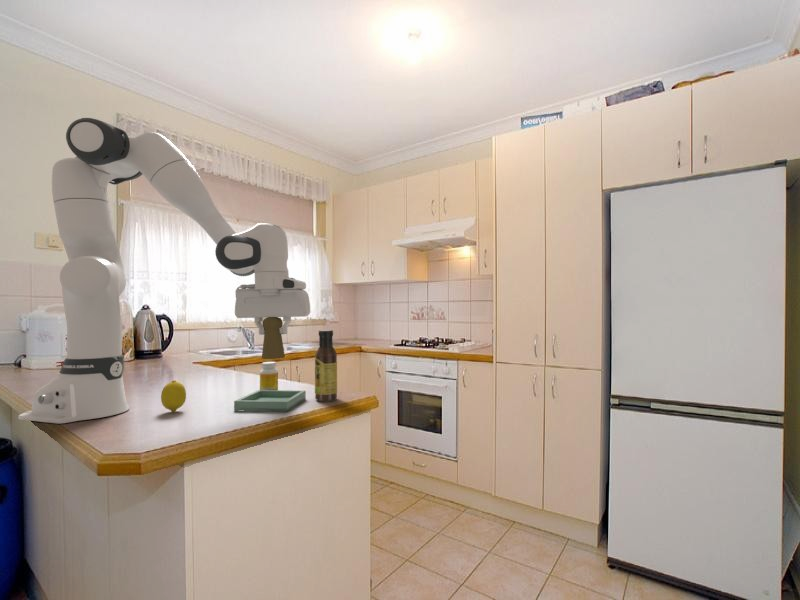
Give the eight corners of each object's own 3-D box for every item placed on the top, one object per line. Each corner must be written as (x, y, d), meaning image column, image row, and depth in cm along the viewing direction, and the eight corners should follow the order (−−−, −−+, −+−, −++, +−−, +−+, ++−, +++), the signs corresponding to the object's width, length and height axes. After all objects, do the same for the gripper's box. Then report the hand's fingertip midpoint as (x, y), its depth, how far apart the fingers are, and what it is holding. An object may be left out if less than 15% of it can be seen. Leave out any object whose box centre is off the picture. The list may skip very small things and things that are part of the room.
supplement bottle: (257, 393, 124) (257, 362, 124) (275, 391, 127) (275, 360, 127) (261, 396, 119) (262, 364, 120) (280, 394, 122) (280, 362, 122)
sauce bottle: (315, 397, 117) (315, 329, 117) (337, 396, 118) (336, 329, 118) (314, 402, 110) (314, 330, 111) (337, 401, 111) (337, 330, 112)
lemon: (155, 413, 100) (156, 381, 100) (175, 408, 105) (175, 377, 105) (171, 415, 98) (171, 382, 98) (191, 410, 103) (191, 379, 103)
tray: (234, 410, 102) (234, 401, 102) (258, 398, 116) (258, 390, 116) (287, 411, 101) (287, 401, 101) (305, 399, 115) (305, 390, 115)
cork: (276, 359, 105) (275, 317, 105) (256, 359, 107) (256, 317, 107) (289, 356, 111) (288, 316, 111) (270, 356, 112) (269, 316, 113)
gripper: (229, 284, 107) (230, 335, 107) (303, 281, 105) (305, 334, 105) (241, 285, 113) (242, 334, 113) (311, 283, 111) (312, 332, 111)
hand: (273, 334), depth 109 cm, fingers closed on cork, 4 cm apart
